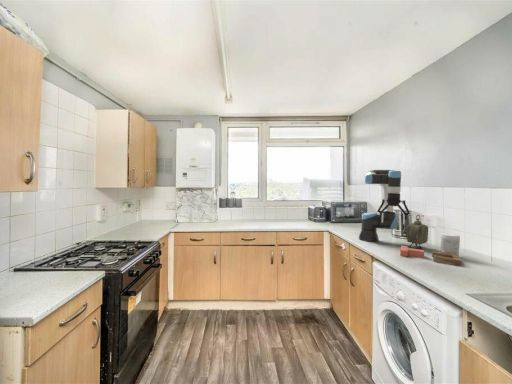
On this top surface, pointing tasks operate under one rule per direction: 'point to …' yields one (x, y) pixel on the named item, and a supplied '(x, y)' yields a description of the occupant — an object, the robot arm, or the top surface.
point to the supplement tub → (450, 243)
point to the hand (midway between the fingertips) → (392, 223)
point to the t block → (411, 252)
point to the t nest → (446, 258)
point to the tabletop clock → (417, 233)
